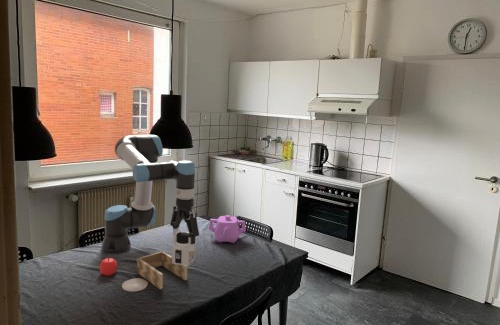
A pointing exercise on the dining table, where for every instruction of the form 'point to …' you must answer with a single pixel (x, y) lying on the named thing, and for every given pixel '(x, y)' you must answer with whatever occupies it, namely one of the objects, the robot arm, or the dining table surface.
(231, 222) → the teapot
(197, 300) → the dining table surface
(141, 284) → the trivet
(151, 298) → the dining table surface
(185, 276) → the tan open-ended frame
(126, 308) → the dining table surface
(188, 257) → the container
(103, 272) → the apple
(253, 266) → the dining table surface
